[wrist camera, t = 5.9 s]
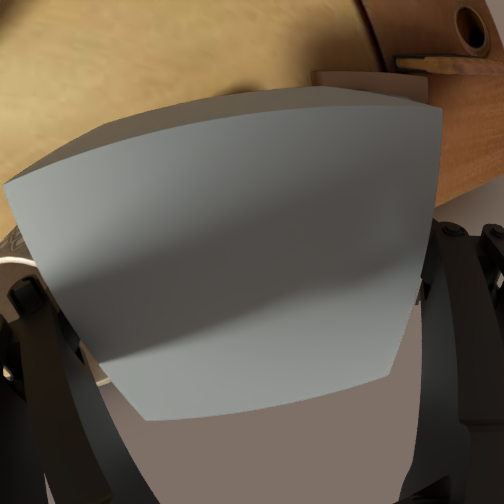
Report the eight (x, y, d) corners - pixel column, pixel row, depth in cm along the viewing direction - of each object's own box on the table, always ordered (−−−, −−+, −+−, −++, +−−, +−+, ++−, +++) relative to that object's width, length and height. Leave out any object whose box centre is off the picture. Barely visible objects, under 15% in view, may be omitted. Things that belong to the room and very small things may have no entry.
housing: (104, 123, 11) (2, 184, 5) (323, 86, 12) (442, 108, 5) (159, 296, 17) (145, 420, 10) (328, 265, 17) (388, 375, 11)
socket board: (310, 71, 24) (359, 71, 16) (411, 74, 25) (475, 85, 17) (318, 184, 31) (360, 228, 23) (409, 173, 32) (464, 209, 23)
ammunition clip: (395, 71, 25) (476, 82, 15) (392, 55, 24) (473, 59, 14) (459, 68, 24) (534, 84, 14) (457, 54, 23) (533, 66, 13)
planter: (78, 159, 26) (14, 213, 15) (174, 268, 34) (167, 355, 24) (6, 244, 29) (-44, 310, 18) (89, 324, 37) (68, 400, 26)
